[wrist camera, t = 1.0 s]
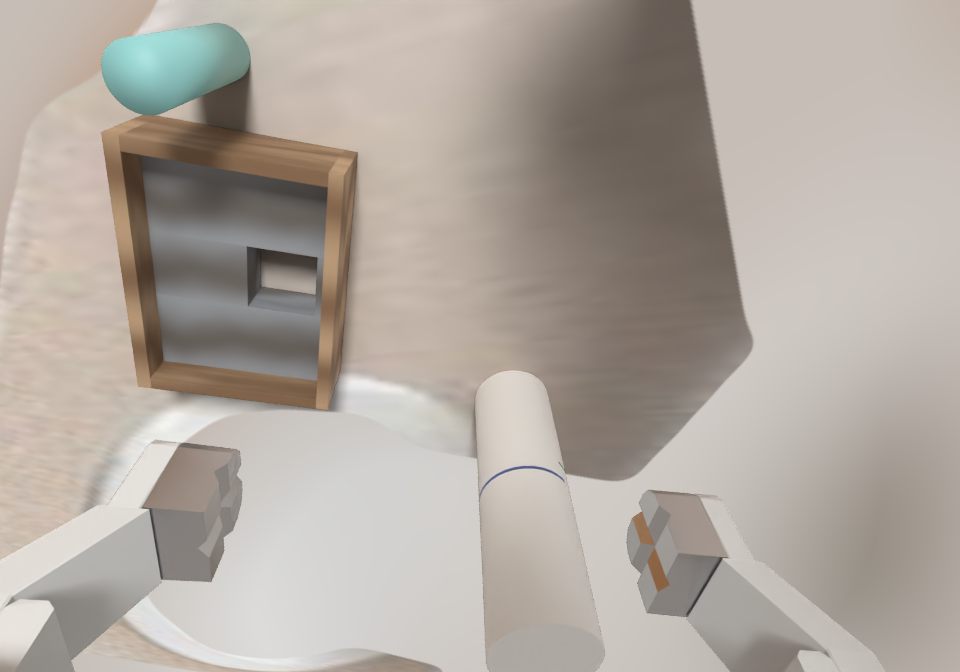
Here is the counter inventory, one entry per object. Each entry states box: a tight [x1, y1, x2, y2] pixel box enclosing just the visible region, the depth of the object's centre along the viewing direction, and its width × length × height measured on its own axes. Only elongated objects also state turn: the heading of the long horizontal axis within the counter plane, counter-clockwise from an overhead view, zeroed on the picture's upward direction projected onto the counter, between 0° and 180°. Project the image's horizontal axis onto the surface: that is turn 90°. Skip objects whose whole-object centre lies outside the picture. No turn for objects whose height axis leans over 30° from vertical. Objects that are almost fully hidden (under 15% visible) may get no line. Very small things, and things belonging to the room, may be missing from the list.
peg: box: [101, 23, 250, 115], centre depth 34 cm, size 4×4×12 cm
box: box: [101, 115, 358, 410], centre depth 44 cm, size 20×15×6 cm
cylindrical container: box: [475, 370, 605, 672], centre depth 45 cm, size 7×7×25 cm
